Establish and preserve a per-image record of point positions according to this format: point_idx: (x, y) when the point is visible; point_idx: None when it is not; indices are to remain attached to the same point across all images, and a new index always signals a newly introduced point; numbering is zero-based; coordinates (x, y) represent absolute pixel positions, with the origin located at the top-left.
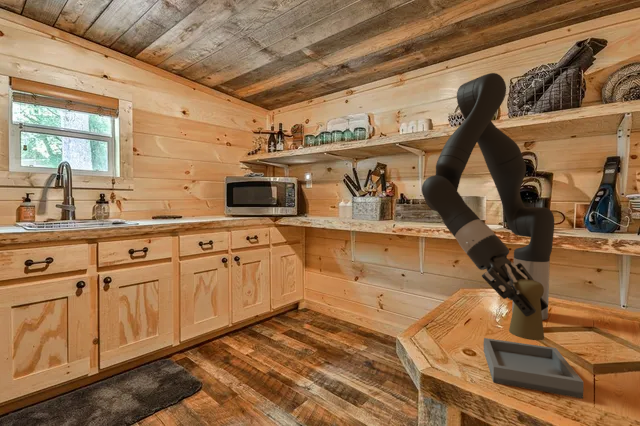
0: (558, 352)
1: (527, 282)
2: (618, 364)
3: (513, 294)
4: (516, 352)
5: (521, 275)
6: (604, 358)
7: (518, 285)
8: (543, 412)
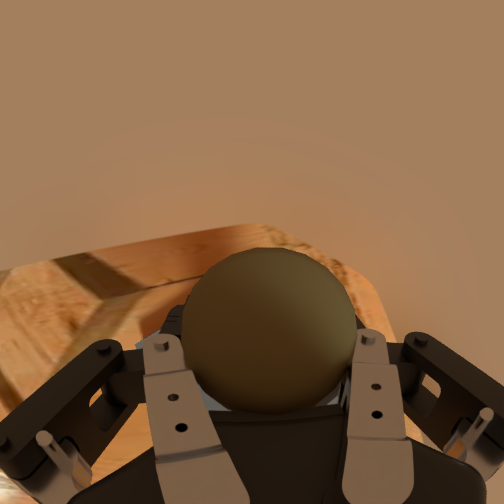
0: (157, 333)
1: (332, 299)
2: (76, 271)
3: (399, 344)
4: None
5: (202, 401)
6: (65, 291)
7: (353, 351)
8: (363, 293)
